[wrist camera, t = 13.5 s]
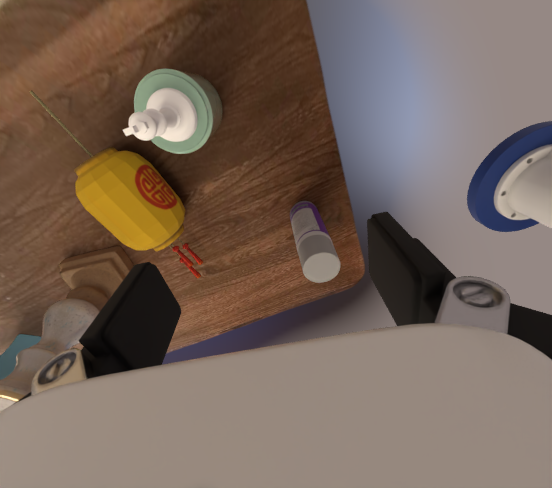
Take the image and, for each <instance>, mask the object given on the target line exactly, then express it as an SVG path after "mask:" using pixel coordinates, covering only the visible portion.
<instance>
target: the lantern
mask: <svg viewBox="0 0 552 488" xmlns="http://www.w3.org/2000/svg"><path fill="white" fill-rule="evenodd" d="M30 93H31V94H32V95H33V96H34V97H35V98H36V99H37V100H38V102H39V103H40V104H41V105H42V106H43V107H44V108H45V109H46V110H47V111H48V112H49V113H50V114H51V115H52V116H53V117H54V118H55V120H56V121H57V122H58V123H59V124H60V125H61V126H62V127H63V128H64V129H65V130H66V131H67V132H68V133H69V134H70V135H71V136H72V137H73V139H74V140H75V141H76V142H77V143H78V144H79V145H80V146H81V147H82V148H83V149H84V150H85V151H86V152H87V153H88V154H89V155H90V157H91V158H90V159H88V160H86V161H85V162H84V163H82V164H81V165H79V166H78V167H77V168H76V169H75V170H74V171H75V172H76V174H77V175H78V179H77V181H76V183H75V186H76V195H77V197H78V198H79V200H80V202H81V203H82V205H83V206H84V208H85V209H86V210H87V211H88V212H89V213H90V214H92V215H93V216H94V217H95V218H96V219H97V220H98V221H99V222H100V223H101V224H102V225H103V226H105V227H106V228H107V229H108V230H109V231H110V232H111V233H112V234H113V235H114V236H115V237H116V238H117V239H119V240H120V241H121V242H122V243H123V244H125V245H126V246H128V247H130V248H132V249H134V250H148V249H151V248H152V249H154V250H155V251H159V250H162V249H163V248H165V247H167V246H169V247H170V248H171V249H172V250H173V251H174V252H175V253H176V252H177V253H178V254H179V255H180V256H181V257H182V258H181V257H180V256H179V255H178V254H177V253H176V254H177V255H178V256H179V257H180V262H183V263H184V264H185V265H186V266H187V267H188V268H189V269H190V271H191V272H192V273H193V274H194V275H195V276H196V278H199V277H200V276H201V275H200V274H199V273H198V272H197V271H196V270H195V269H194V268H193V267H192V265H193V262H191V261H190V260H189V259H188V258H187V257H186V256H185V255H184V254H183V253H182V252H181V251H180V250H179V246H173V245H172V244H171V243H172V242H174V241H175V240H176V239H177V238H178V237H179V236H180V235H181V233H182V232H183V231H184V227H183V225H182V223H183V221H184V216H185V208H184V206H183V204H182V202H181V200H180V198H179V197H178V196H177V194H176V193H175V192H174V191H173V190H172V188H171V187H170V186H169V185H168V184H167V182H166V181H165V180H164V179H163V178H162V176H161V175H160V174H159V173H158V172H157V170H156V169H155V168H154V167H153V166H152V164H151V163H150V162H148V161H147V160H146V159H144V158H143V157H142V156H140V155H139V154H136V153H133V152H130V151H119V152H118V151H117V150H116V149H114V148H113V147H109V148H107V149H105V150H103V151H101V152H99V153H98V154H96V155H94V156H93V155H92V154H91V153H90V152H89V151H88V150H87V149H86V148H85V147H84V146H83V145H82V144H81V142H80V141H79V140H78V139H77V138H76V137H75V136H74V135H73V134H72V133H71V132H70V131H69V130H68V129H67V127H66V126H65V125H64V124H63V123H62V122H61V121H60V120H59V119H58V118H57V117H56V116H55V115H54V114H53V112H52V111H51V110H50V109H49V108H48V107H47V106H46V105H45V104H44V103H43V102H42V101H41V100H40V99H39V97H38V96H37V95H36V94H35V93H34V92H33V91H30ZM178 239H179V238H178ZM179 240H180V239H179ZM180 241H181V240H180ZM181 242H182V241H181ZM182 243H183V242H182ZM170 244H171V245H172V246H173V247H171V246H170ZM183 249H187V250H188V252H189V253H190V254H191V255H192V256H193V258H194V259H195V260H196V261H197V263H198V264H199V265H201V264H202V263H203V261H202V260H201V259H200V258H199V257H198V256H197V255H196V254H195V253H194V252H193V251H192V250H191V249H190V248H189V247H188V244H187V243H185V244H184V243H183Z"/></svg>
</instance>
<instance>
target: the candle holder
mask: <svg viewBox="0 0 552 488" xmlns="http://www.w3.org/2000/svg"><path fill="white" fill-rule="evenodd" d="M58 266H59V268H60V269H61V271H60V275H61V277H62V278H63V280H64V281H65V282H66V283H67V284H68V286H69V287H70V288H71V289H72V290H71V291H70V292H69V293H68V295H67V297H66V299H63V300H59V301H57V302H55V303H54V304H52V305H51V306H50V307H49V308H48V309H47V311H46V312H45V315H44V317H43V326H42V337H41V340H40V342H39V343H37V344H36V345H33V346H31V347H29V348H27V349H24V350H22V351H20V352H19V353H18V354H17V356H16V366H15V369H14V370H13V372H12V373H11V374H10V375H8V376H7V377H6V378H4V379H2V380H0V412H1V411H2V410H4V409H6V408H8V407H9V406H11V405H13V404H14V403H15V402H17V401H18V400H20V399H21V398H23V397H24V396H25V395H27V394H28V393H30V392H31V387H32V380H33V378H34V376H35V374H36V373H37V371H38V370H39V369H40V368H41V367H42V366H43V365H44V364H45V363H46V362H47V361H48V360H50V359H51V358H52V357H54V356H55V355H57V354H59V353H61V352H62V351H65V350H68V349H69V348H71V347H72V346H74V345H76V344H78V343H80V342H79V339H80V338H81V337H82V335H83V334H84V333H85V331H86V330H87V329H88V327H89V326H90V324H91V323H92V322H93V320H94V319H95V318H96V316H97V315H98V314H99V312H100V311H101V310H102V308H103V307H104V306H105V304H106V303H107V301H108V300H109V299H110V297H111V296H112V295H113V293H114V292H115V291H116V289H117V288H118V287H119V285H120V284H121V283H122V281H123V280H124V279H125V277H126V276H127V274H128V273H129V272H130V270H131V269H132V268H133V266H134V265H133V263H132V262H131V260H130V259H129V257H128V256H127V254H126V253H125V252H124V250H123V249H122V248H121V247H120V246H115V247H110V248H106V249H102V250H97V251H93V252H89V253H85V254H81V255H76V256H72V257H69V258H66V259H64V260H63V261H62V262H61V263H60V264H59V265H58Z"/></svg>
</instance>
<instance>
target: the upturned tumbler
mask: <svg viewBox="0 0 552 488" xmlns="http://www.w3.org/2000/svg"><path fill="white" fill-rule="evenodd" d="M162 88H173V89H176V90H179V91H180V92H182V93H184V94H185V95H186V96H187V97H188V98H189V99H190V100H191V102H192V103H193V105H194V107H195V109H196V112H197V119H198V121H197V127H196V130H195V132H194V134H193V135H192V136H191V137H190V138H188V139H187V140H184V141H179V142H173V141H168V140H166V139H164V138H162V137H160V136H155V137H154V138H153V139H151V141H152V142H153V143H154V144H156V145H157V146H158V147H160V148H162V149H164V150H166V151H168V152H172V153H177V154H186V153H190V152H193V151H195V150H197V149H199V148H200V147H202V146H203V145H204V144H205V143H206V142H207V141H208V140H209V138H210V137H211V136H212V135H213V134H214V133H215V132H216V131H217V130H218V128H219V126H220V124H221V120H222V104H221V100H220V97H219V95H218V93H217V91H216V90H215V88H214V87H213V86H212V84H211V83H210V82H209V81H207V80H206V79H205V78H203V77H202V76H200V75H197V74H194V73H190V72H185V71H179V70H174V69H158V70H155V71H152V72H150V73H149V74H147V75H146V76H145V77H144V78H143V79H142V80H141V81H140V83H139V84H138V86H137V89H136V92H135V96H134V109H135V112H143V111H144V110H146V106H147V102H148V100H149V98H150V96H151V95H152V94H153V93H154V92H156V91H157V90H159V89H162Z"/></svg>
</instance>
